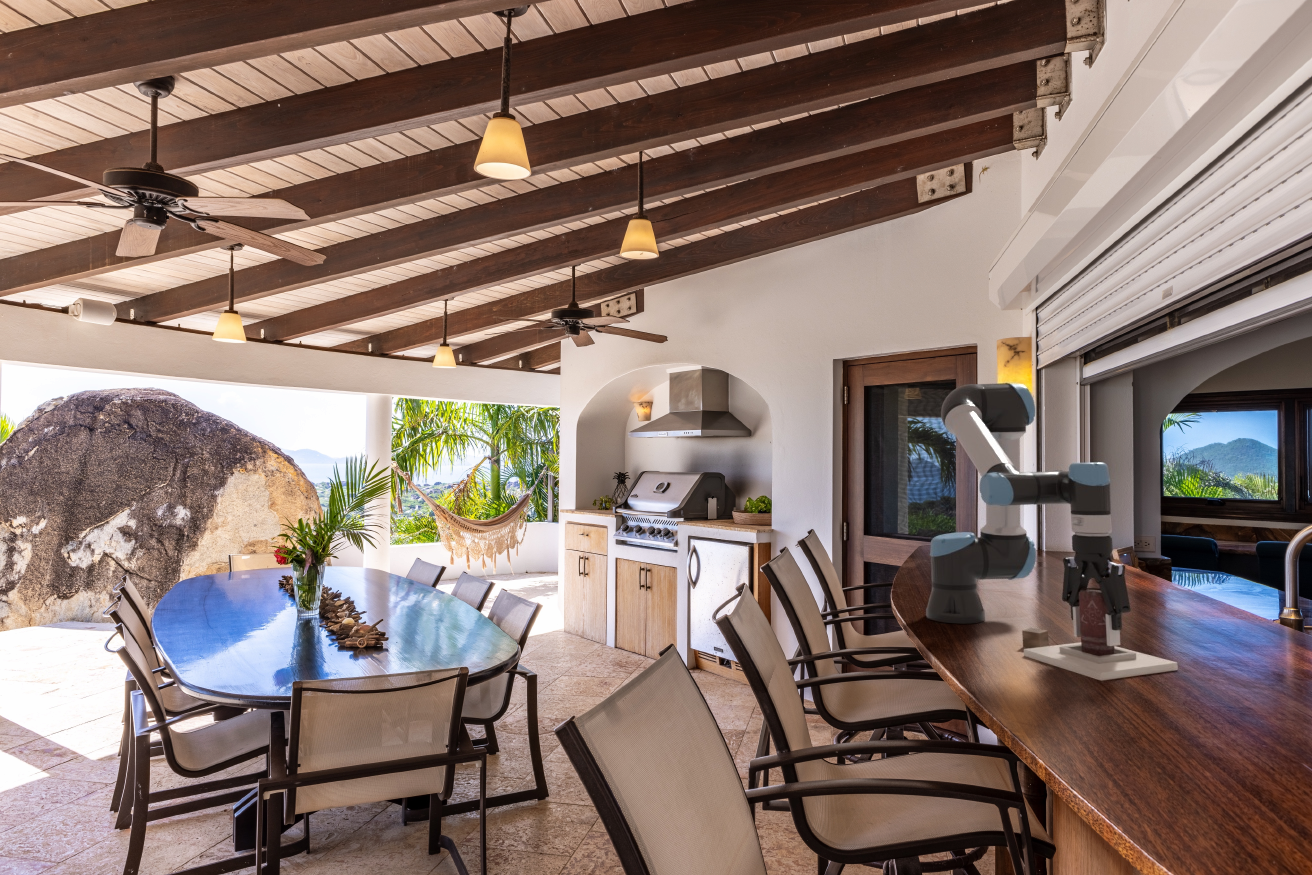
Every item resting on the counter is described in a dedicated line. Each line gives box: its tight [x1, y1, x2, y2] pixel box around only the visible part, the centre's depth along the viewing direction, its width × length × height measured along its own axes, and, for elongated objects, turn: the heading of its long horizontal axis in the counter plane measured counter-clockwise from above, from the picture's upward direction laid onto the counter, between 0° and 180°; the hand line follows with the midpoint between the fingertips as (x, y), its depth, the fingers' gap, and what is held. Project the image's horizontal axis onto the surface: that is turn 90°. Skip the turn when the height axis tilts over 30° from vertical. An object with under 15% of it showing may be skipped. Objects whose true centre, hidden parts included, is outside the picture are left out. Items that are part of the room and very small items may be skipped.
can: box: [1079, 587, 1115, 656], centre depth 159 cm, size 6×6×14 cm
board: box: [1023, 641, 1178, 681], centre depth 158 cm, size 20×20×3 cm
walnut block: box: [1021, 627, 1050, 649], centre depth 172 cm, size 4×4×4 cm
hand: (1096, 640), depth 158 cm, fingers open, 8 cm apart
